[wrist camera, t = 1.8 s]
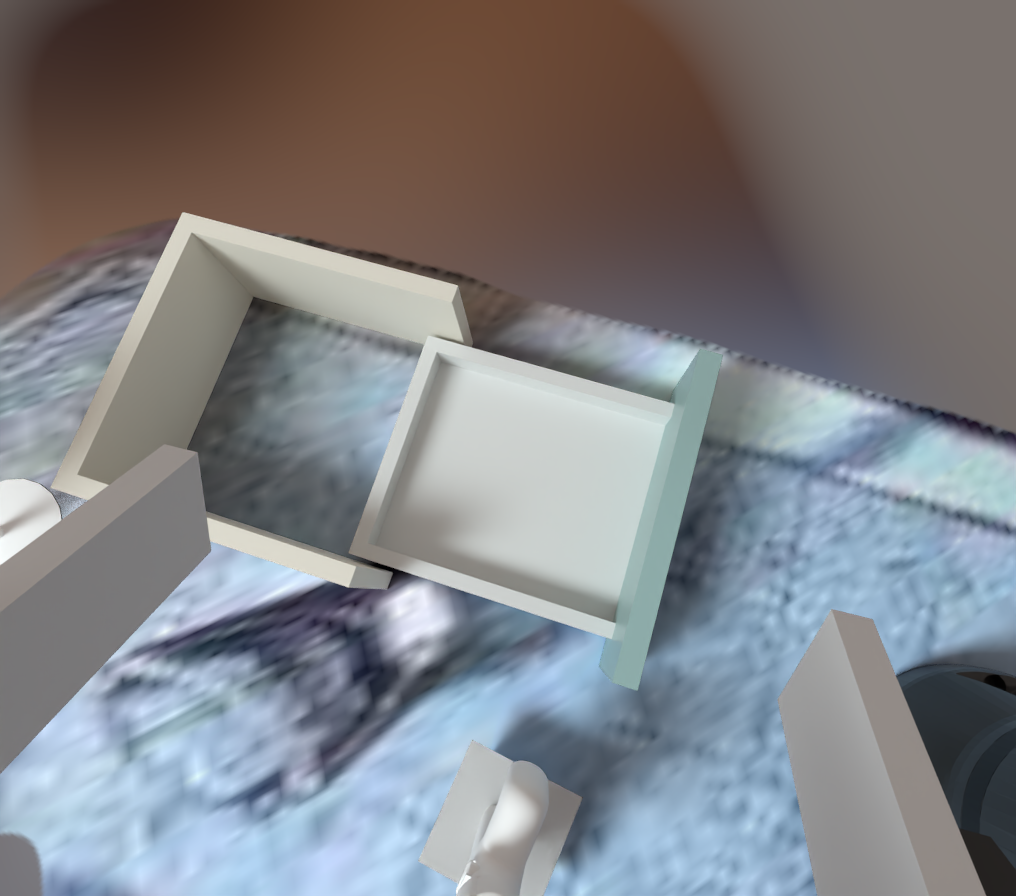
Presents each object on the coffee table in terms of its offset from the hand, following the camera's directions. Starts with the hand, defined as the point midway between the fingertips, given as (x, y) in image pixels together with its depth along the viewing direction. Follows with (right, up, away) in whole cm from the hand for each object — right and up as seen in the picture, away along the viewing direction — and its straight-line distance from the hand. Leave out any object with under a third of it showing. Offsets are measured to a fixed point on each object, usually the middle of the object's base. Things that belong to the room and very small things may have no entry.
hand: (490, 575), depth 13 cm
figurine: (0, -20, +27) cm, 34 cm away
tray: (+1, 0, +32) cm, 32 cm away
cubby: (-14, +4, +33) cm, 37 cm away
